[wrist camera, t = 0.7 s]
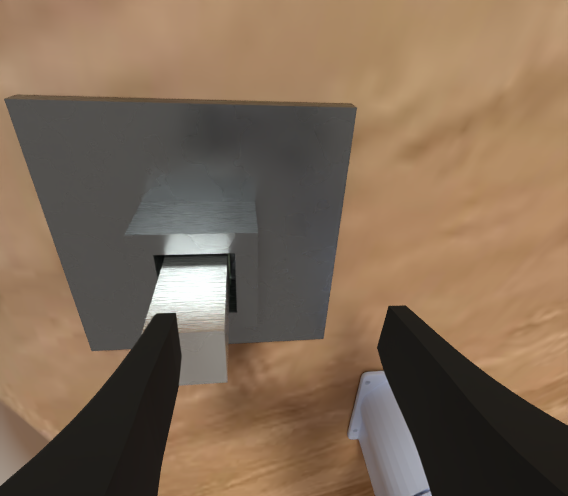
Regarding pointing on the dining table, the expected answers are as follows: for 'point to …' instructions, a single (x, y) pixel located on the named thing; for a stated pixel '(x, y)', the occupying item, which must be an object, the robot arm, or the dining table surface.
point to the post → (197, 312)
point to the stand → (190, 203)
